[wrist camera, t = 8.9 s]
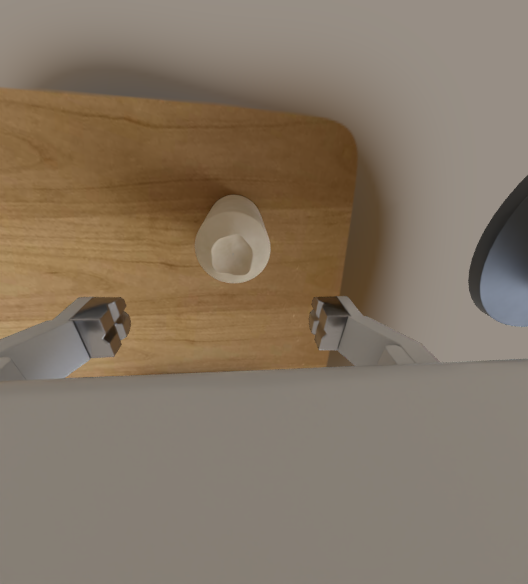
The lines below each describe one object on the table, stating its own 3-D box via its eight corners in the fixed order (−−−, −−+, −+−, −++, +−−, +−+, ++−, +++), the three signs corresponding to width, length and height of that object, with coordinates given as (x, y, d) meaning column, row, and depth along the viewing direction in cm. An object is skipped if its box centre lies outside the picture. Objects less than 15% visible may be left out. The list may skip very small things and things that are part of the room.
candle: (270, 230, 25) (286, 268, 16) (229, 256, 26) (224, 304, 17) (242, 182, 22) (243, 198, 13) (197, 213, 23) (172, 246, 14)
